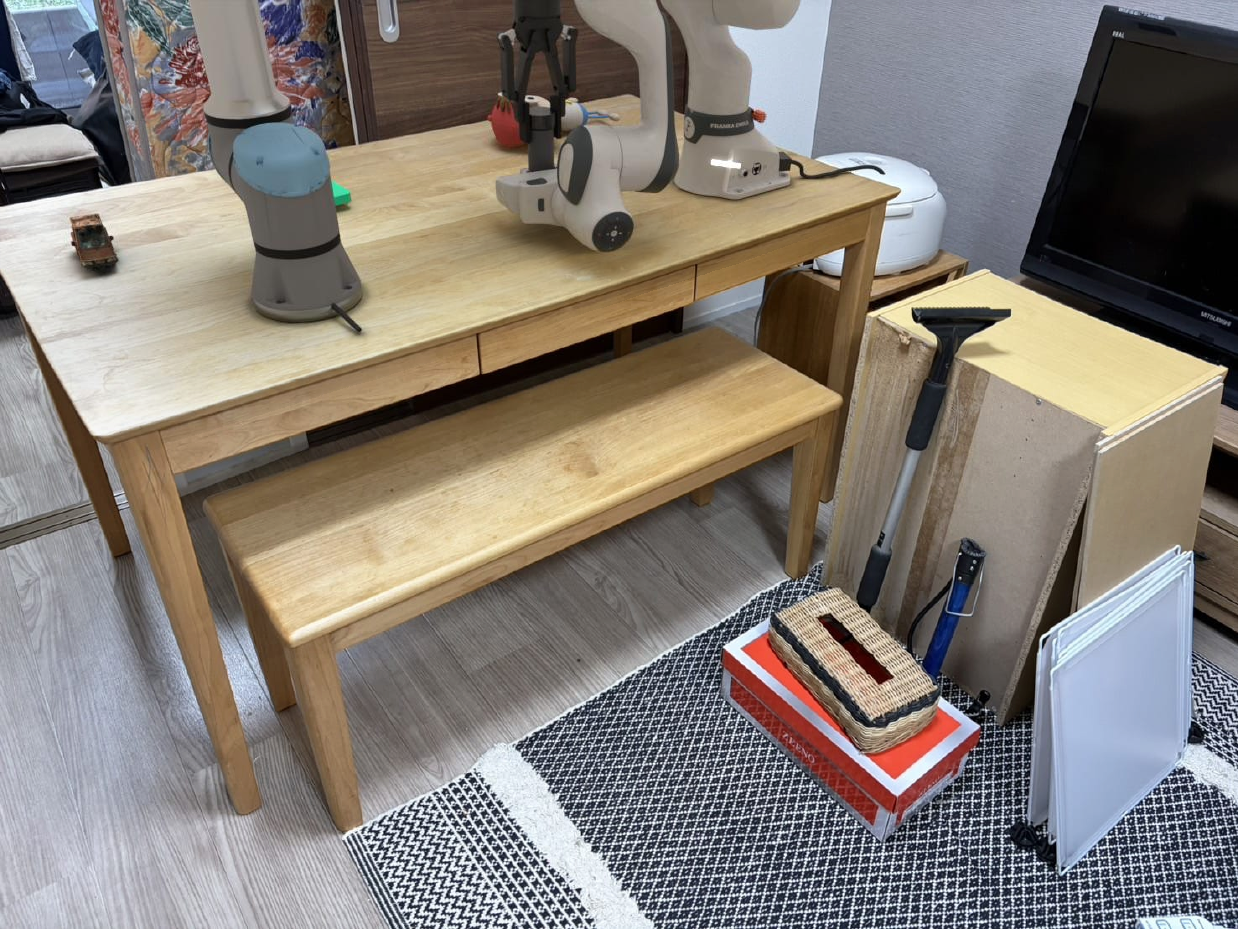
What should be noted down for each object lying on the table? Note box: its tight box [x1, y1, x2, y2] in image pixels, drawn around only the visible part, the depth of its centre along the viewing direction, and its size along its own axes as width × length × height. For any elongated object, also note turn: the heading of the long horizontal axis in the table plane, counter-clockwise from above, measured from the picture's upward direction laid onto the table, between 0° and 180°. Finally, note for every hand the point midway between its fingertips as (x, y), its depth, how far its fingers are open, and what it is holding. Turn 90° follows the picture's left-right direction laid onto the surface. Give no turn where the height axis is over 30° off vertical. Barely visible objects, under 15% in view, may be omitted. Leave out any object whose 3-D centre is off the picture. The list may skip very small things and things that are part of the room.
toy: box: [487, 91, 621, 148], centre depth 195 cm, size 18×10×30 cm
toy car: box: [69, 213, 120, 274], centre depth 141 cm, size 6×12×7 cm, turn 39°
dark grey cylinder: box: [527, 127, 555, 172], centre depth 159 cm, size 4×4×16 cm
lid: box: [529, 107, 556, 129], centre depth 155 cm, size 5×5×2 cm
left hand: (540, 138), depth 157 cm, fingers closed on lid, 5 cm apart
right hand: (539, 170), depth 161 cm, fingers closed on dark grey cylinder, 4 cm apart
